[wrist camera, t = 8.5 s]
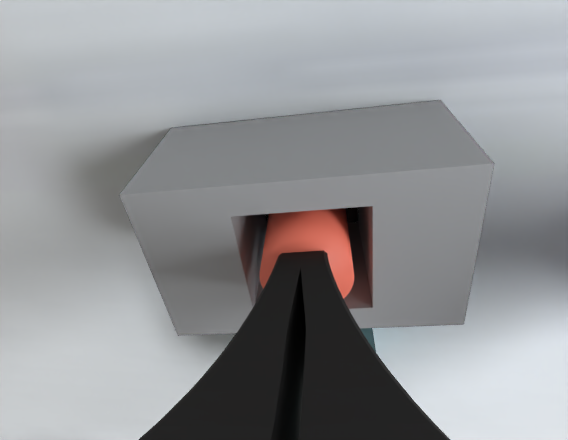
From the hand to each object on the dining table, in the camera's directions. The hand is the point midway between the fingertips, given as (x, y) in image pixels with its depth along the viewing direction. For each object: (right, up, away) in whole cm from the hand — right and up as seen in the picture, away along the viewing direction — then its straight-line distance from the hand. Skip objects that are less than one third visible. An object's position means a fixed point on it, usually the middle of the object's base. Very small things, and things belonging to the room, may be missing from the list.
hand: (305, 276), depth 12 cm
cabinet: (0, +3, +5) cm, 6 cm away
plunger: (0, +2, +3) cm, 4 cm away
